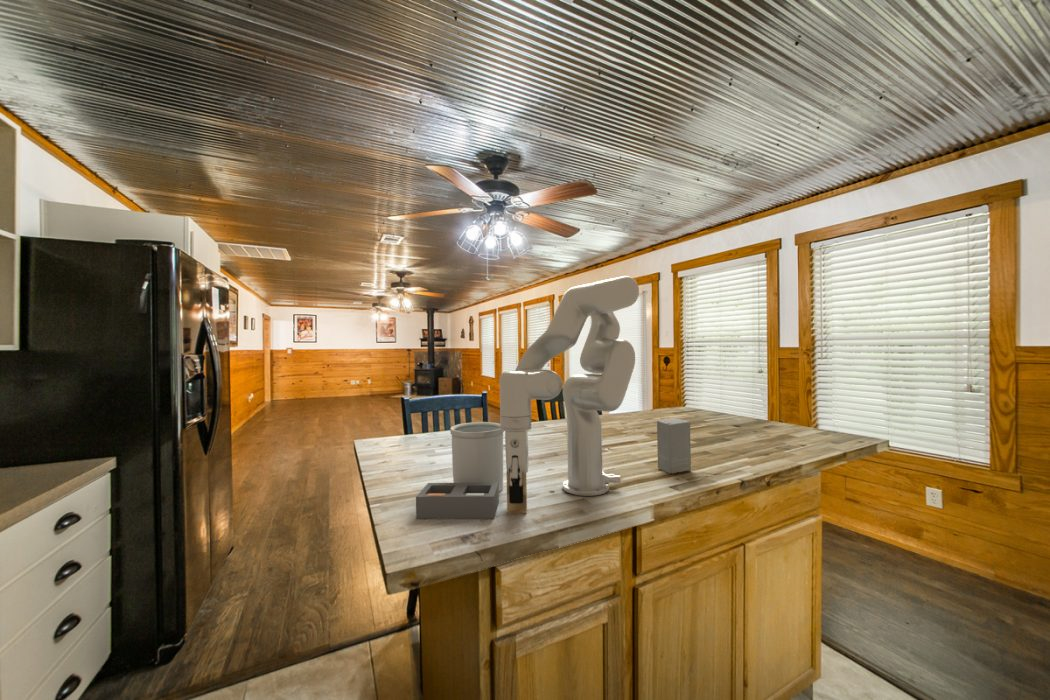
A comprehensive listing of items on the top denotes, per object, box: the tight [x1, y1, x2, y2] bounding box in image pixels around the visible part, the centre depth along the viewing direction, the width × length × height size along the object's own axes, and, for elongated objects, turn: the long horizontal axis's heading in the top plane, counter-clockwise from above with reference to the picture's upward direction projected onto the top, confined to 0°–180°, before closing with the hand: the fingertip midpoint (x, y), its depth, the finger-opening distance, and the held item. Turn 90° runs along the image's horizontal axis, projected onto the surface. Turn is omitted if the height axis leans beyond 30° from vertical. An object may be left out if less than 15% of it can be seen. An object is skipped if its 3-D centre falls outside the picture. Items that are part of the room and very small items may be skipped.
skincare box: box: [656, 418, 692, 474], centre depth 125 cm, size 8×7×16 cm
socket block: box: [415, 482, 500, 520], centre depth 95 cm, size 18×10×5 cm, turn 88°
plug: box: [506, 470, 528, 515], centre depth 95 cm, size 4×4×10 cm
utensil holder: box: [449, 421, 505, 493], centre depth 110 cm, size 15×15×18 cm
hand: (517, 498), depth 95 cm, fingers closed on plug, 4 cm apart
